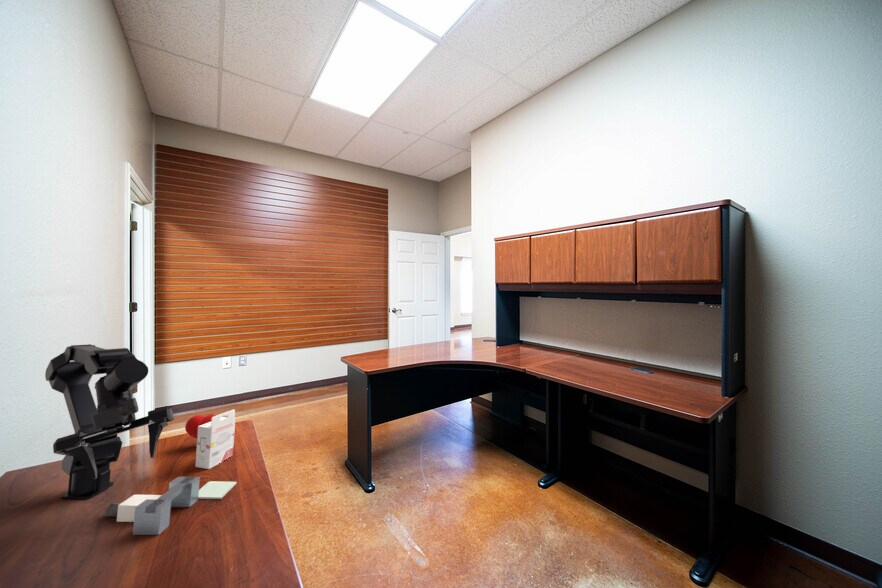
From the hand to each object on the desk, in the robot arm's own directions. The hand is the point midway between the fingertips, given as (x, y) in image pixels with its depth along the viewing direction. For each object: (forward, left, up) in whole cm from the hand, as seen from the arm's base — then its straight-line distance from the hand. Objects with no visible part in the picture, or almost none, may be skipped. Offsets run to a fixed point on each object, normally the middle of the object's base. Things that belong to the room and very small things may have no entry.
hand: (124, 467), depth 71 cm
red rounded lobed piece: (-5, +36, -11) cm, 38 cm away
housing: (+10, +1, -11) cm, 15 cm away
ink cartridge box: (+5, +26, -11) cm, 28 cm away
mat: (+14, +11, -11) cm, 20 cm away
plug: (+2, +1, -11) cm, 11 cm away
